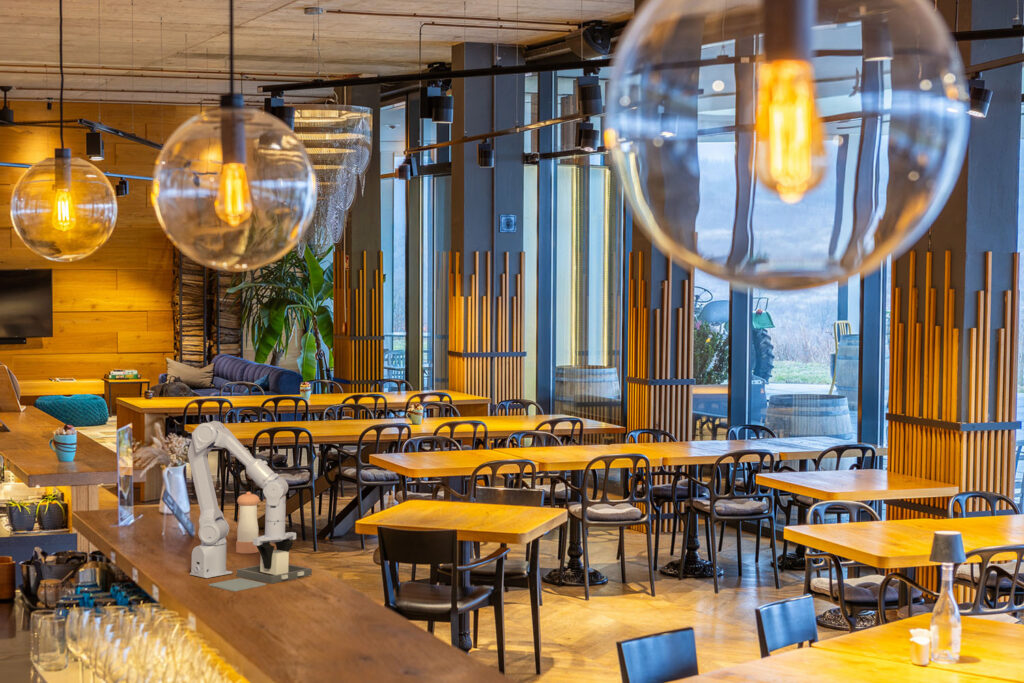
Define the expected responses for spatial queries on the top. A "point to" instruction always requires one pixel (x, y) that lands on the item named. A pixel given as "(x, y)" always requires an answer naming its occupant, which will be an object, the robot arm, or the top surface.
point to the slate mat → (237, 584)
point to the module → (277, 563)
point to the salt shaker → (247, 523)
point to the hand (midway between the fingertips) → (274, 567)
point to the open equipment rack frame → (256, 575)
